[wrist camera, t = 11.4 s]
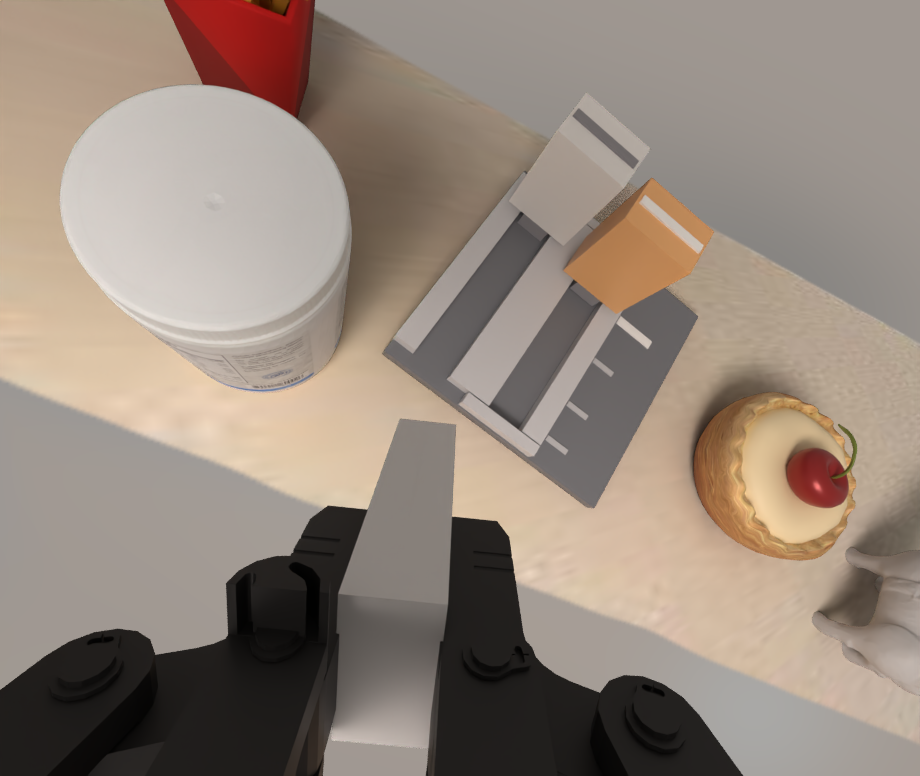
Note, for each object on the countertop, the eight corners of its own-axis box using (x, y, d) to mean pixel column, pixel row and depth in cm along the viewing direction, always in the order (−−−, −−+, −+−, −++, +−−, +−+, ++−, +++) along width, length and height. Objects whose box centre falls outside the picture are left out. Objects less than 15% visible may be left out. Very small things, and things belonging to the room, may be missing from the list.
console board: (382, 354, 32) (407, 303, 23) (519, 178, 38) (587, 76, 28) (586, 507, 34) (689, 520, 25) (689, 320, 40) (806, 271, 30)
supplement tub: (244, 224, 31) (181, 23, 17) (370, 305, 33) (405, 180, 19) (144, 343, 29) (-27, 219, 15) (286, 427, 30) (254, 386, 16)
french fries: (225, 37, 33) (152, -292, 19) (346, 82, 35) (361, -187, 21) (187, 146, 31) (73, -129, 17) (317, 187, 33) (312, -30, 19)
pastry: (672, 541, 36) (780, 562, 27) (680, 388, 38) (781, 364, 30) (799, 559, 39) (931, 583, 30) (798, 415, 41) (921, 400, 33)
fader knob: (553, 278, 36) (626, 216, 27) (576, 245, 37) (653, 176, 28) (604, 320, 36) (692, 272, 28) (625, 286, 37) (716, 230, 29)
